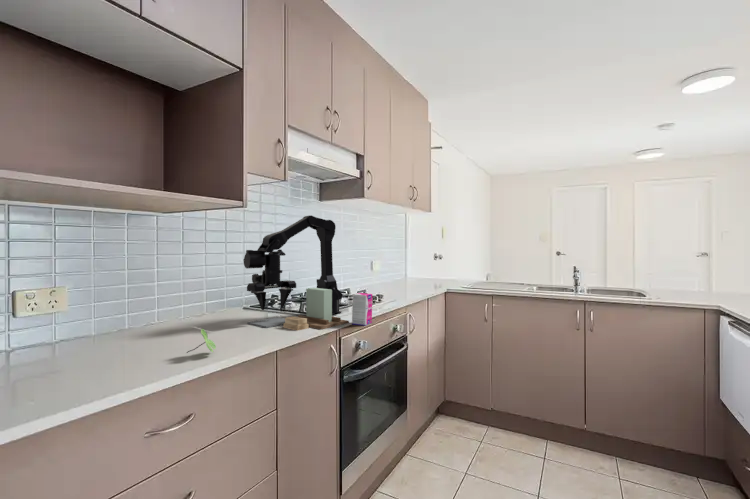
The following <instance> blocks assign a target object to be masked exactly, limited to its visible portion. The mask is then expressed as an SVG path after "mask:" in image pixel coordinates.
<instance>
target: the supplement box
mask: <svg viewBox="0 0 750 499" xmlns="http://www.w3.org/2000/svg"><path fill="white" fill-rule="evenodd" d="M351 304H352V308H351V314H352V315H351V325H354V326H360V327H361V326H364V327H366V326H367V325H370V324H372V323H373V322H372V320H373V293H364V292H358V293H353V294H352V303H351Z"/></svg>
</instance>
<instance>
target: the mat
mask: <svg viewBox="0 0 750 499" xmlns="http://www.w3.org/2000/svg"><path fill="white" fill-rule="evenodd" d="M285 318H286V317H280V316H278V317H271V318H265V319H264V318H263V319H260V320H259V319H258V320H254V321H252V320H251V321H247V324H248V325H252V326H256V327H260V328H265V329H268V328H273V327H279V326H283V323H285Z"/></svg>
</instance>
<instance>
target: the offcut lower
mask: <svg viewBox="0 0 750 499" xmlns="http://www.w3.org/2000/svg"><path fill="white" fill-rule="evenodd" d="M282 326H283V327H282V328H284V329H287V330H288V329H289V330H293V331H297V332H298V331H302V330H308V329H309V328H310V327H309V324H305V325H300V326H296V325H291V324H285V323H283V325H282Z"/></svg>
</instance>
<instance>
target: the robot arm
mask: <svg viewBox="0 0 750 499" xmlns="http://www.w3.org/2000/svg"><path fill="white" fill-rule="evenodd" d="M336 226H337V225H336V223H335V222H334V221H333V220H332V219H323V218H319V217H316V216H314V215H304V216H303V217H302V218H301V219H299V220H297V221H296V222H294V223H292V224H290V225H288V226H287V227H286V228H283V229H282V230H279V231H276V232H273V233H270V234H267V235H265V236H264V237H263V238H262V242H261V244H260V246H258V248H257V250H252V249H246V250H245V252H246V253H245V254H244V256H243V265H244V268H245V269H262V268H264V269H262V274H258V273H253V274H252V275H251V283H248V284H247V286H246V291H247V292H250V293H251V294H253V295H254V296H255V297H256V298H257V302H258V303H259V307H260V309H261V310H262V311H264V310H265V306H266V297H267V291H265V290H269V289H278V291H279V293H280V297H279V298H280V307H281V308H284V307H285V304H286V303H287V300H288V298H289V296H290V294H291V292H292V291H294V289H297V283H296V281H295V280H289V279H288V280H287V279H285V280H281V274H282V273H283V269H281V257H282V256H284V257H285V256H286V253H285V252H284V251H283V250H282V249H281V248H282V247H283V246H284V245H286V244H287V242H288V241H289V240H290V239H291V238H294V236H296V235H297V234H300V233H301V232H304V231H305V230H306V229H307V228H311V229H313V230H315V231H316V232H315V233H316V235H317V238H318V239H319V241H320V244H319V245H320V271H321V274H320V276H319V278H318V279H316V288H321V289H331V290H332V315H336V314H335V313H337V314H341V312H342V311H340V300H342V299H343V295H344V294H343V293H342V292H341V291H340V290H339V288H338V284H337V280H336V278H335V277H334V268H333V267H334V266H333V265H334V264H333V239H334V237H335V234H336ZM266 253H267V254H266Z"/></svg>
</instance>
